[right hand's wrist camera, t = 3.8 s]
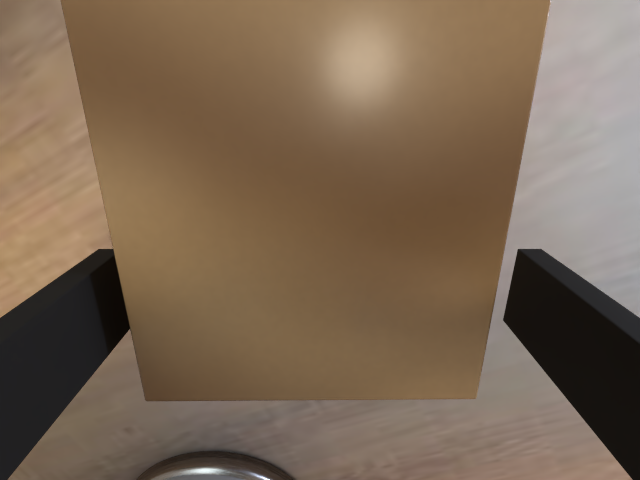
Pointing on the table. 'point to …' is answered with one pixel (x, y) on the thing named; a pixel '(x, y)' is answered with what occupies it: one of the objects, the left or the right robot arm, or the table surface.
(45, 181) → the table surface
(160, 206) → the cabinet
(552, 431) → the table surface
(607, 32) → the table surface
